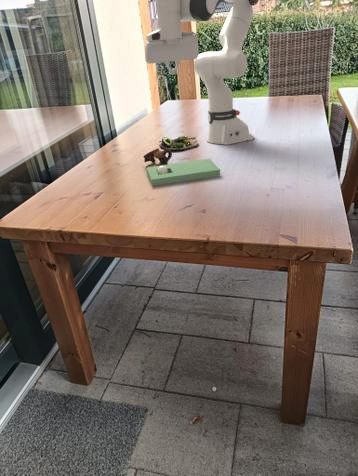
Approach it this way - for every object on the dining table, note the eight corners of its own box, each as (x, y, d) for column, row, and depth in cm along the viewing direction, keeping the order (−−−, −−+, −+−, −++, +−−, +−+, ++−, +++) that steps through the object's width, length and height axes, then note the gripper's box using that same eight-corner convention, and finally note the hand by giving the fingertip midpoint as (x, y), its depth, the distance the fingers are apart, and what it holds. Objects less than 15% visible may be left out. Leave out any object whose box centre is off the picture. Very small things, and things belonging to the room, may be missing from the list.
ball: (169, 172, 146) (163, 164, 147) (169, 170, 142) (162, 162, 143) (162, 179, 147) (155, 171, 147) (161, 177, 143) (154, 169, 143)
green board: (209, 164, 154) (209, 158, 153) (220, 175, 142) (219, 169, 141) (147, 173, 150) (146, 167, 149) (152, 186, 138) (151, 179, 137)
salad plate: (186, 138, 193) (186, 128, 190) (207, 145, 179) (207, 135, 177) (154, 146, 184) (153, 136, 182) (173, 154, 171) (172, 144, 169)
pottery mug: (153, 173, 152) (143, 154, 151) (149, 176, 161) (139, 158, 160) (178, 159, 155) (168, 141, 153) (172, 163, 164) (163, 146, 163)
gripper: (195, 31, 143) (197, 70, 150) (142, 36, 140) (146, 76, 147) (199, 31, 138) (201, 72, 145) (144, 36, 135) (148, 77, 142)
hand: (173, 74), depth 146 cm, fingers closed
